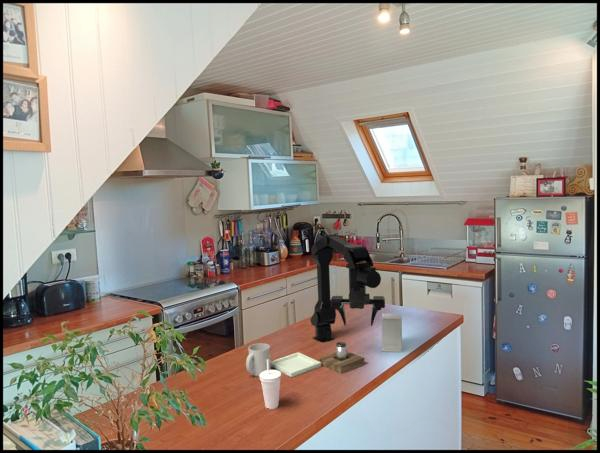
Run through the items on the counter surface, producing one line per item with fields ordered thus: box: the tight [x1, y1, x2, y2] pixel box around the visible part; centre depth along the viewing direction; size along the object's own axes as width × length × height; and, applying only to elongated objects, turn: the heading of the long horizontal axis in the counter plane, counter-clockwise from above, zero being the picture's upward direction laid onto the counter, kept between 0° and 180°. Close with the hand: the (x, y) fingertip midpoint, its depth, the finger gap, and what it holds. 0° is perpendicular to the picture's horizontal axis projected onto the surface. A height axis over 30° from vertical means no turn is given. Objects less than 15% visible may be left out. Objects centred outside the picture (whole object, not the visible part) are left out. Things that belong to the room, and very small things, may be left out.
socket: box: [319, 350, 365, 375], centre depth 161 cm, size 11×11×2 cm
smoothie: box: [258, 359, 282, 410], centre depth 133 cm, size 6×6×14 cm
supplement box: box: [381, 313, 403, 353], centre depth 173 cm, size 7×7×13 cm
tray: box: [270, 351, 322, 378], centre depth 161 cm, size 13×13×2 cm
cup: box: [245, 342, 272, 377], centre depth 156 cm, size 7×10×9 cm
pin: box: [335, 341, 347, 361], centre depth 161 cm, size 3×3×8 cm
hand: (358, 325), depth 162 cm, fingers open, 9 cm apart
